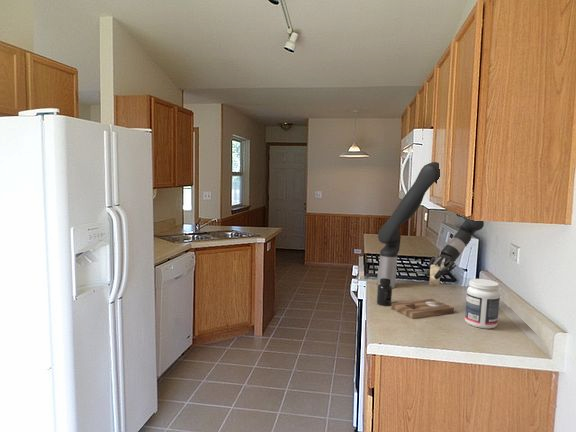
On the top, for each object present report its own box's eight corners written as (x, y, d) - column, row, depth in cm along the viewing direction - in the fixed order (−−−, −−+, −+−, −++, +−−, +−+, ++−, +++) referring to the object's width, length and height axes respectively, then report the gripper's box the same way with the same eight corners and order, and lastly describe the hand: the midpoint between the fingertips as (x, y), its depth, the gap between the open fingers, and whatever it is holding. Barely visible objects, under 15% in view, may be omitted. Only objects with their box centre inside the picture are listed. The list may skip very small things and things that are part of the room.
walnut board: (391, 308, 199) (391, 303, 198) (431, 303, 209) (431, 298, 208) (412, 318, 186) (412, 312, 186) (453, 312, 196) (453, 307, 196)
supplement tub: (493, 321, 187) (497, 279, 185) (500, 331, 175) (504, 287, 173) (462, 317, 190) (465, 276, 188) (466, 327, 178) (470, 284, 176)
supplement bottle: (373, 302, 207) (375, 278, 206) (385, 301, 210) (386, 277, 208) (382, 306, 201) (383, 281, 199) (394, 305, 204) (395, 280, 202)
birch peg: (427, 284, 200) (428, 265, 199) (434, 283, 202) (435, 264, 201) (434, 286, 196) (435, 267, 195) (441, 285, 198) (442, 266, 197)
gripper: (438, 241, 206) (416, 268, 202) (461, 247, 193) (439, 275, 189) (445, 252, 209) (424, 278, 205) (469, 257, 196) (447, 286, 192)
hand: (431, 276), depth 197 cm, fingers closed on birch peg, 4 cm apart
